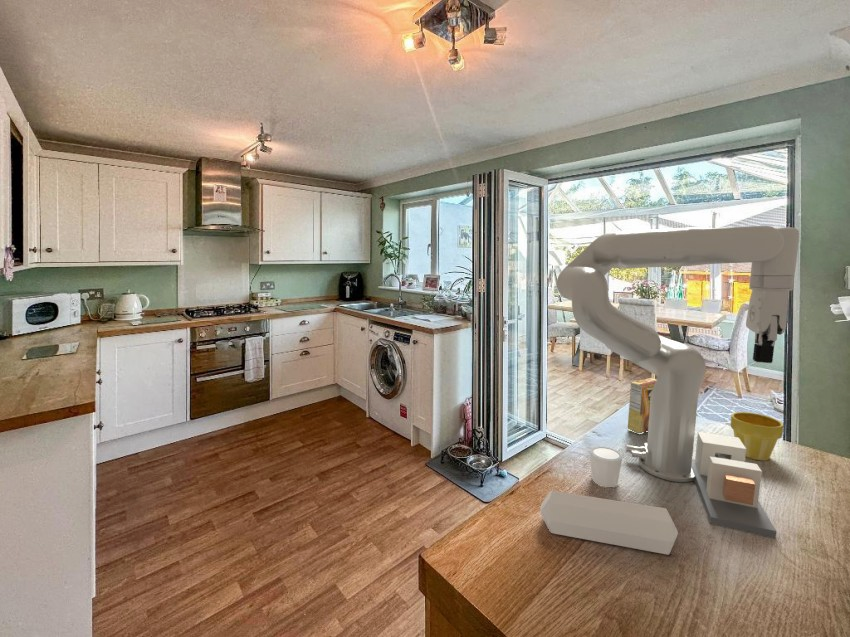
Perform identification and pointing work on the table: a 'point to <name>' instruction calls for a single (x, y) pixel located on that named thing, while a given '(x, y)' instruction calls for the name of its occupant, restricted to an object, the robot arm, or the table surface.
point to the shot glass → (605, 466)
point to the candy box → (640, 405)
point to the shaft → (737, 487)
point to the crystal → (609, 521)
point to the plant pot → (756, 433)
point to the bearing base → (733, 512)
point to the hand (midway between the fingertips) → (762, 361)
